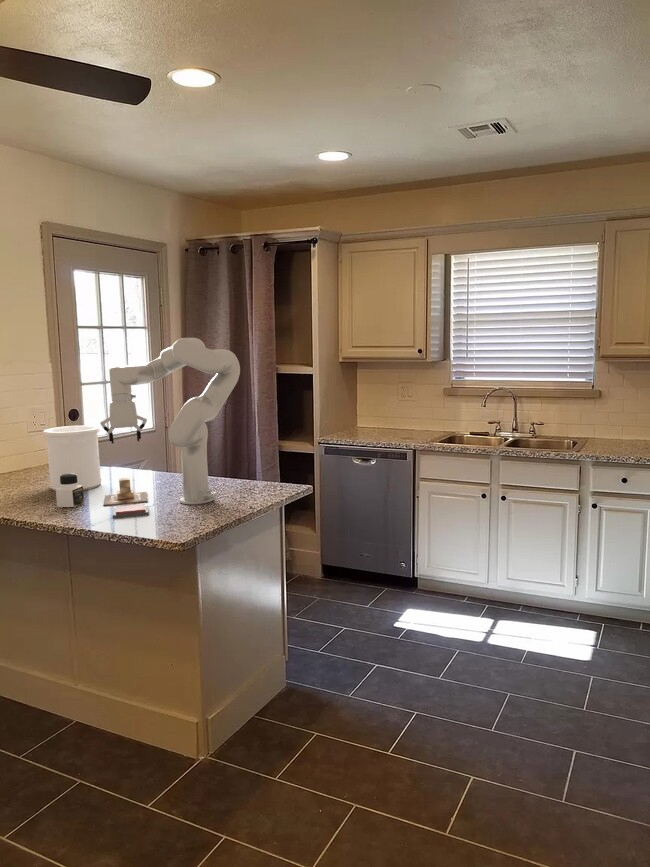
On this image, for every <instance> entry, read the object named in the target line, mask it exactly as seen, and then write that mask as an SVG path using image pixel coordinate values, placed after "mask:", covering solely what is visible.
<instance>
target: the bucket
mask: <svg viewBox="0 0 650 867" xmlns="http://www.w3.org/2000/svg"><path fill="white" fill-rule="evenodd" d="M99 432H100V426H97V425H89V424H88V425H83V424H82V425H68V426H67V425H66V426H58V427H52V428H47V429H44V430H43V432H42V434H43V436H44V437H45V438H46V450H47V459H48V460H47V461H48V462H47V463H48V471H49V484H50V485H49V486H50V488H51V490H52V491H54V492H56V489H57V488H60V487H62V486H61V484H60V476H61V475H63V474H76V475H77V482H78V484H77V485H82V486H83V491H87V490H92V489H95V488H98V487H99V486H100V485H101V484H102V477H101V476H102V475H101V464H100V463H101V462H100V448H99V439H98V437H99V436H98V433H99Z"/></svg>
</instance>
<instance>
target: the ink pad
mask: <svg viewBox="0 0 650 867" xmlns="http://www.w3.org/2000/svg"><path fill="white" fill-rule="evenodd" d="M149 512H150V511H149V506H148V505H146V504H145V503H140V504H132V505H131V504H129V505H122V506H121V505H119V506H116V507H115V508H114V507H113V512H112V519H113V518H116V519H125V517H126V518H135V517H136V516H137V517H145V515H147V516H150V514H149Z"/></svg>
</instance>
